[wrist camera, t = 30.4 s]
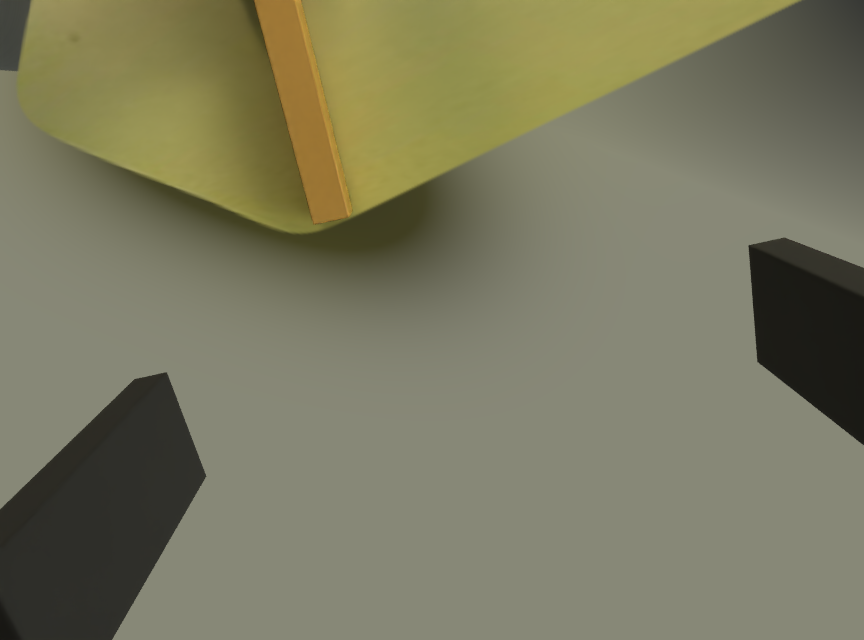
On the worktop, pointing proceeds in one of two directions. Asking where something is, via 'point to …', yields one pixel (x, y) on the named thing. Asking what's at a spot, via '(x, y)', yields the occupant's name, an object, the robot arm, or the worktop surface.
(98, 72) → the worktop surface
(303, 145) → the wooden t-shaped block
